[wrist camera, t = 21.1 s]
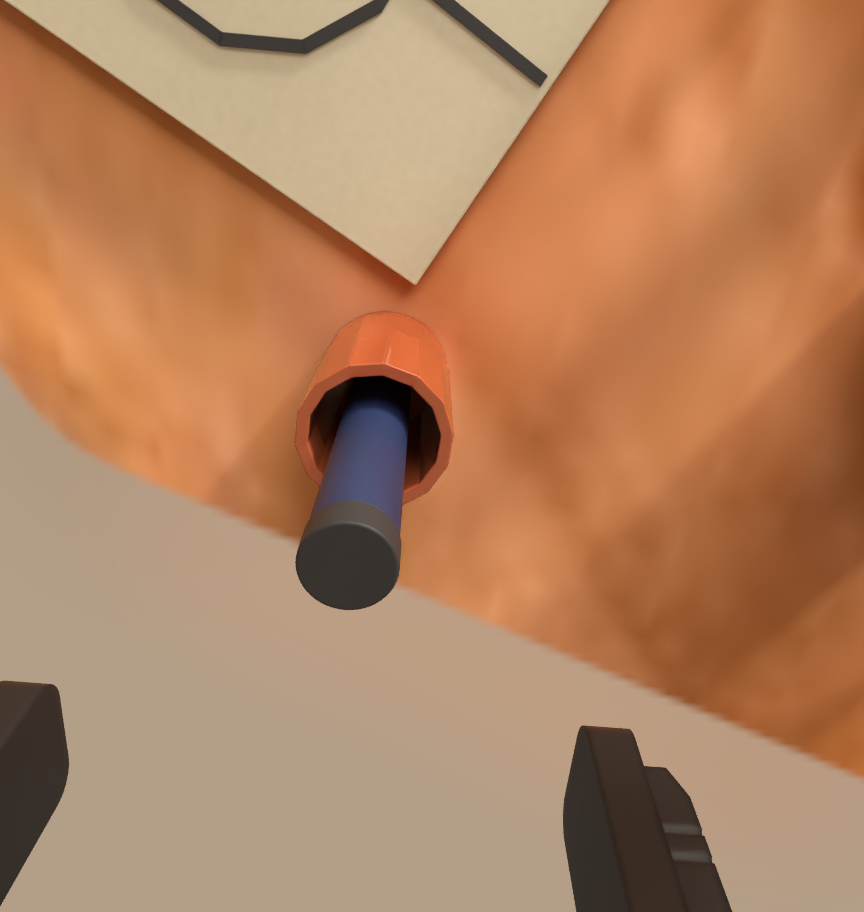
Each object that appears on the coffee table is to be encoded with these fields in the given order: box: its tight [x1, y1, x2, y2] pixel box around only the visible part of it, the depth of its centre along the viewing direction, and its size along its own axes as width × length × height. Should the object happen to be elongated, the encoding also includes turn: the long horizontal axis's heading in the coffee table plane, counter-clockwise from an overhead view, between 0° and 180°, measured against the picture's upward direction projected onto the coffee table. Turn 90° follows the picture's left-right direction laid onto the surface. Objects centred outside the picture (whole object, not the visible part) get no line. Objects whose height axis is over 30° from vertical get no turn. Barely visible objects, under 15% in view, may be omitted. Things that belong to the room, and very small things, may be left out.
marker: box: [296, 376, 411, 610], centre depth 23 cm, size 2×2×14 cm
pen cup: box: [295, 312, 454, 505], centre depth 26 cm, size 5×5×7 cm
